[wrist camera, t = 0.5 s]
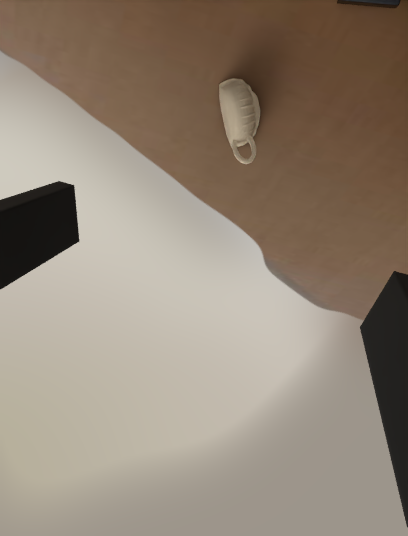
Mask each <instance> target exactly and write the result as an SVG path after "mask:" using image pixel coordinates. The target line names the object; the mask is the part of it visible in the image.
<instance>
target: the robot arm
mask: <svg viewBox="0 0 408 536" xmlns="http://www.w3.org/2000/svg"><path fill="white" fill-rule="evenodd" d="M77 242H79V233H78V223H77V212H76V200H75V190H74V185H71V184H67V183H64V182H60V181H58V182H55V183H52V184H49V185H46V186H43V187H39V188H36V189H33V190H30V191H27V192H24V193H21V194H18V195H15V196H11V197H8V198H5V199H2V200H0V289H2V288H4V287H5V286H7V285H9V284H10V283H12V282H13V281H15V280H17V279H18V278H20V277H22V276H23V275H25V274H27V273H28V272H30V271H31V270H33V269H35V268H36V267H38V266H40V265H41V264H43V263H45V262H46V261H48V260H49V259H51V258H53V257H54V256H56V255H58V254H59V253H61V252H62V251H64V250H66V249H67V248H69V247H71V246H72V245H74V244H76V243H77ZM360 329H361V334H362V338H363V342H364V346H365V351H366V355H367V359H368V363H369V367H370V372H371V376H372V380H373V385H374V389H375V393H376V397H377V401H378V406H379V410H380V414H381V418H382V423H383V427H384V431H385V435H386V439H387V444H388V448H389V452H390V456H391V461H392V465H393V469H394V473H395V477H396V482H397V486H398V490H399V494H400V499H401V503H402V507H403V512H404V516H405V520H406V524H407V527H408V275H407V274H403V273H399V272H396V271H394V272H393V274H392V275H391V277H390V279H389V280H388V282H387V284H386V285H385V287H384V289H383V290H382V292H381V294H380V295H379V297H378V298H377V300H376V302H375V303H374V305H373V307H372V308H371V310H370V312H369V313H368V315H367V317H366V318H365V320H364V321H363V323H362V325H361V326H360Z"/></svg>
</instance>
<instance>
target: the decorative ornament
mask: <svg viewBox="0 0 408 536" xmlns="http://www.w3.org/2000/svg"><path fill="white" fill-rule="evenodd" d="M219 99H220V106H221V111H222V116H223V121H224V126H225V130H226V135H227V138H228V140H229V143H230V145H231V147H232V149H233V153H234V155H235V157H236V158H237V160H238V161H239V162H241V163H243V164H249V163H251V162H252V161H253V160H254V159H255V157H256V145H255V142H254V140H253V136H254V135H255V134H256V129H257V127H258V125H259V118H260V107H259V102H258V98H257V96H256V94H255V93H254V92H252V90H251V87H250V85H247V84H245V82H244V81H243V80H242V79H236V78H231V79H229V80H226V81H224V82H222V83H221V84H219ZM246 143H249V144H250V146H251V150H252V154H251V157H250V158H249V159H244V158H243V157H241V155H240V154H239V152H238V149H237V147H239V146H242V145H245V144H246Z"/></svg>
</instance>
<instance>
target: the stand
mask: <svg viewBox="0 0 408 536" xmlns="http://www.w3.org/2000/svg"><path fill="white" fill-rule="evenodd" d="M337 3H341V4H352V5H364V6H375V7H387V8H396V7H397V6H398V5H399V3H400V0H338V1H337Z"/></svg>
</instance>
